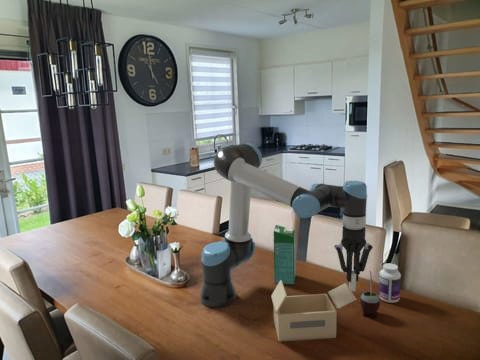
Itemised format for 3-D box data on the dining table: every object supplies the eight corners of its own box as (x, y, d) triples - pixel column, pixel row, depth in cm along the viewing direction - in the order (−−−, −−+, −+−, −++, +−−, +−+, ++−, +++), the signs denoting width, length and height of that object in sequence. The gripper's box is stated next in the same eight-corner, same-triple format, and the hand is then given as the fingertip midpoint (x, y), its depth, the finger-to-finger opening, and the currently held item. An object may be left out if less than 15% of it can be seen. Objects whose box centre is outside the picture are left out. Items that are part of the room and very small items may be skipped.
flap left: (272, 296, 133) (281, 280, 131) (276, 313, 122) (287, 295, 121) (270, 296, 133) (280, 279, 131) (275, 312, 122) (285, 295, 121)
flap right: (336, 308, 123) (356, 298, 122) (327, 292, 133) (345, 282, 133) (337, 309, 123) (356, 299, 123) (328, 293, 134) (345, 284, 133)
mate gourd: (369, 321, 133) (370, 284, 130) (354, 310, 140) (355, 275, 137) (384, 315, 136) (386, 279, 133) (369, 305, 143) (370, 270, 140)
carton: (278, 341, 124) (278, 315, 122) (273, 321, 135) (273, 297, 133) (336, 337, 124) (336, 311, 122) (326, 317, 136) (326, 293, 134)
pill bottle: (399, 295, 150) (400, 263, 147) (400, 305, 142) (402, 271, 139) (378, 292, 152) (379, 260, 149) (378, 302, 145) (380, 269, 142)
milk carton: (294, 284, 162) (294, 231, 157) (274, 283, 164) (273, 231, 158) (295, 275, 171) (295, 225, 165) (276, 274, 172) (275, 224, 167)
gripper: (338, 231, 119) (337, 295, 124) (377, 229, 119) (374, 293, 124) (331, 223, 126) (330, 285, 131) (368, 221, 127) (365, 283, 132)
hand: (352, 289), depth 128 cm, fingers closed
